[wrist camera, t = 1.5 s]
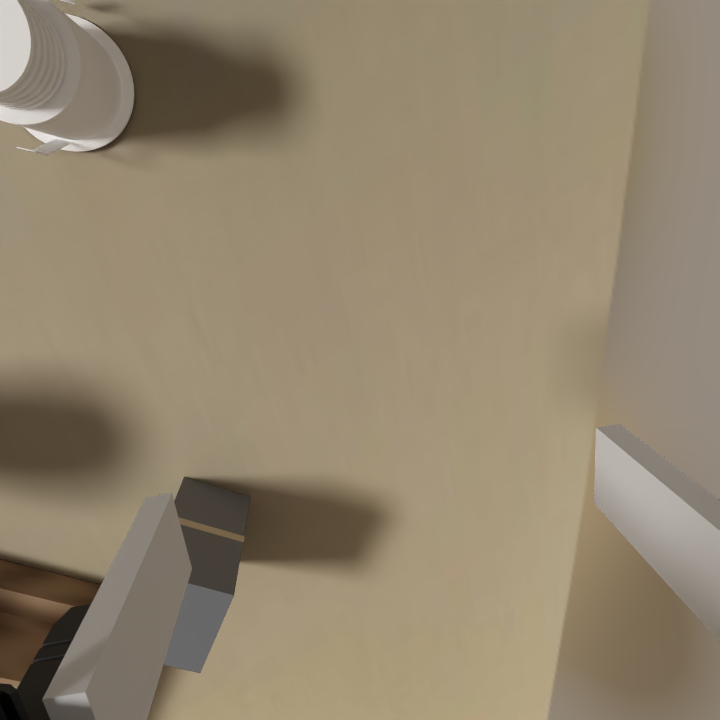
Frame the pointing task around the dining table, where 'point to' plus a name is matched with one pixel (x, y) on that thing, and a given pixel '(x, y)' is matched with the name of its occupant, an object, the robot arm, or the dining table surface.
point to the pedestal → (32, 613)
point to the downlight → (61, 78)
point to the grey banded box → (206, 567)
